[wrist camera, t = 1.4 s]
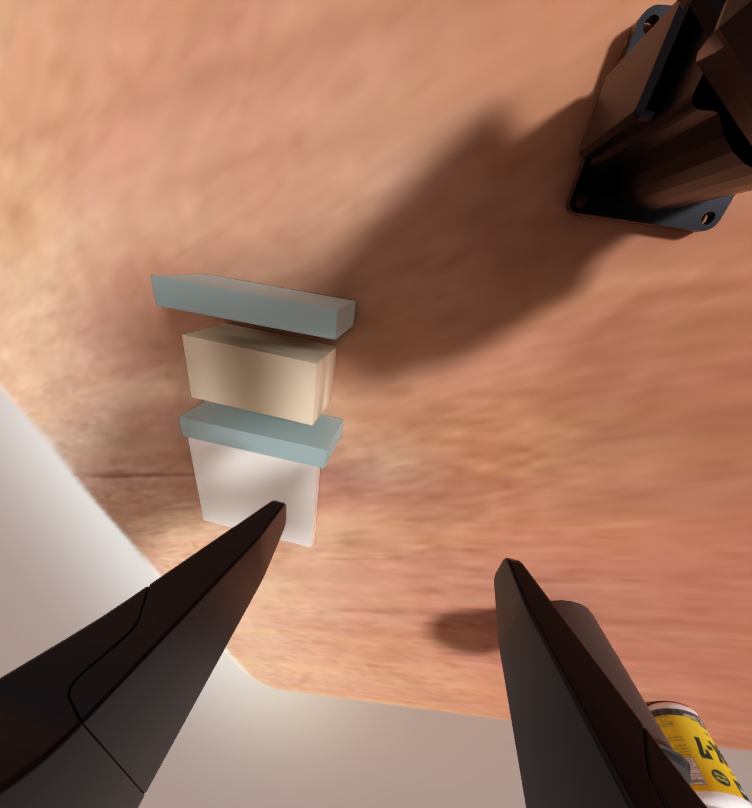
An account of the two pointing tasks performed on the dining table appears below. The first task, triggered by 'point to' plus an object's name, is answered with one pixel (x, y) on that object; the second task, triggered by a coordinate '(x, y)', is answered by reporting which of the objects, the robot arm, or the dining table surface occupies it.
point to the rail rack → (271, 311)
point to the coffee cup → (617, 674)
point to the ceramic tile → (255, 488)
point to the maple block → (260, 371)
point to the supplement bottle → (700, 756)
